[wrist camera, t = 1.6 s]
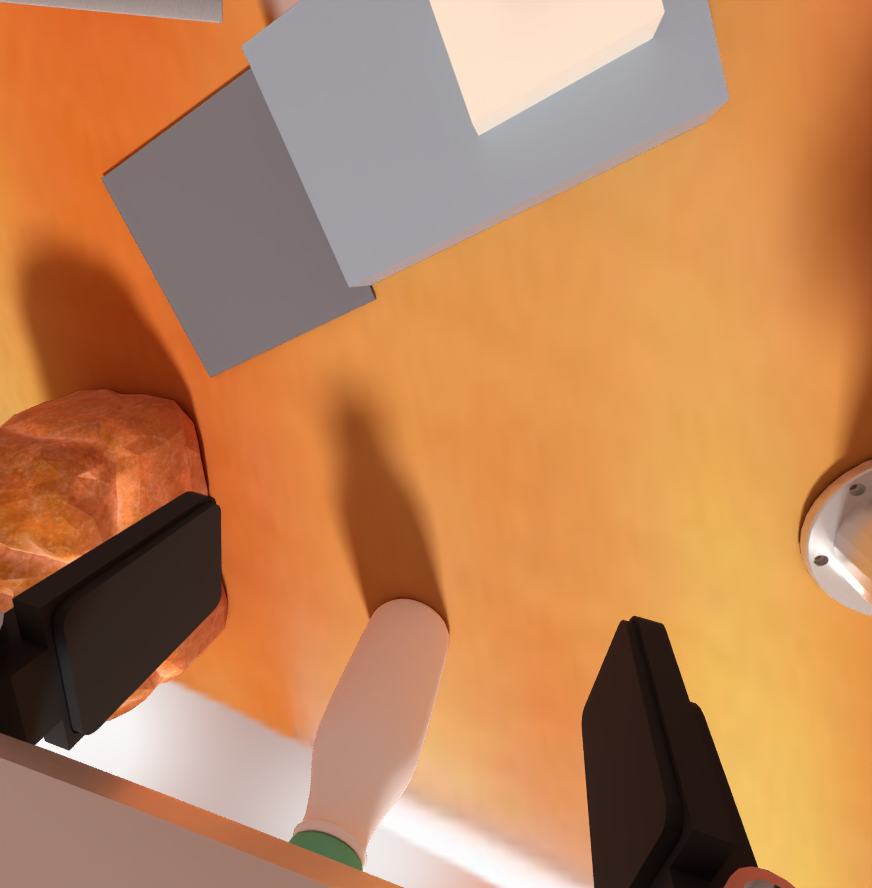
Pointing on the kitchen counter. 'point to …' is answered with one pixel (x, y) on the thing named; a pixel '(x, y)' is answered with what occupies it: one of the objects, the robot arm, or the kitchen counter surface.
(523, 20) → the cream rectangular block
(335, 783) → the milk bottle
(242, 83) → the mat
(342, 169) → the platform
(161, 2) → the nameplate
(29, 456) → the bread
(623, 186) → the kitchen counter surface
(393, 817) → the kitchen counter surface
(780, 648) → the kitchen counter surface
